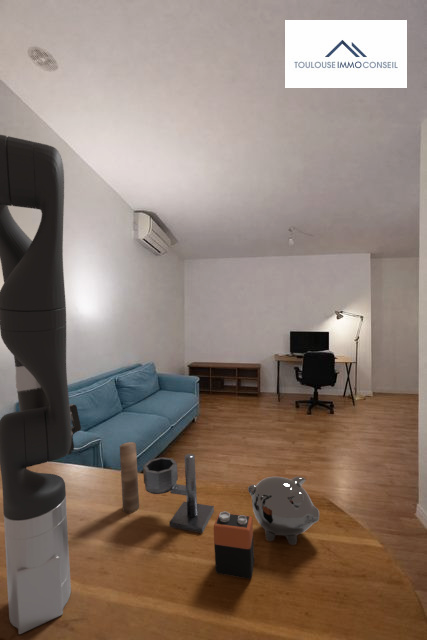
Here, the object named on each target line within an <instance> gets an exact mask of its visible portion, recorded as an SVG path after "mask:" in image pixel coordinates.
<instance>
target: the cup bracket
mask: <svg viewBox="0 0 427 640" xmlns="http://www.w3.org/2000/svg"><path fill="white" fill-rule="evenodd" d="M183 458H184V472H185V473H184V474H185V484H179V483H177V482H178V479H179V475H178V464H177V462H176V460H174V458H171V457H170V458H169V457H162V456H161V457H158V458H154V459H149V461H147V462H146V463H145V464H144V465H143V467H142V471H143V484H144V488H145V491H146V492H147V493H148V494H152V495H163V494H166V493H168V492H169V494H174V495H180V496H186V501H183V502H182V503H181V505H179V508H178V509H177V511H176V512H175V513H174V515H173V516H172V518H171V519H170V521H169V528H173V529H177V530H183V531H188V532H192V533H193V532H194V533H199V534H203V533H204V531H205V529H206V527H207V526H208V523H209V521H210V520H211V517H212V515H213V514H214V512H215V506H214V505H208V504H201V503H198V500H197V499H198V497H197V495H198V494H197V476H196V475H197V474H196V461H195V460H196V459H195V458H196V455H195V454H193V453H186V454H185V455H184V457H183Z"/></svg>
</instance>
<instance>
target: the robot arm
mask: <svg viewBox="0 0 427 640" xmlns="http://www.w3.org/2000/svg"><path fill="white" fill-rule="evenodd" d="M64 200H65V170H64V164H63V159H62V155H61V153H60V152H59V150H58V149H57V148H56V147H54V146H52V145H48V144H44V143H41V142H36V141H32V140H27V139H23V138H18V137H13V136H11V135H10V136H7V135H4V134H0V263H1V273H2V277H3V284H2V287H1V289H0V337H1V340H2V341H3V343H4V345H5V347H6V348H7V350H9V351H10V353H11V354H12V355H13V358H14V366H15V387H16V393H17V399H18V400H17V401H18V407H19V408H18V409H19V411H13V412H8V413H6V414H4V415H3V416H2V417H1V419H0V475H1V486H2V504H3V505H2V508H3V509H2V510H3V523H4V524H3V525H4V526H3V527H4V543H5V544H4V546H5V562H6V563H5V565H6V584H7V585H6V586H7V599H8V600H7V601H8V617H9V622H10V625H12V627H15V628H16V629H17V630H18V631H17V632H18V635H22V634H24V633H27V632H29V631H30V630H32V629H35V628H37V627H39V626H41V625H43V624H45V623H47V622H49V621H52V620H54V619H56V618H58V617H60V616H62V615H63V614H64V607H65V606H66V604H67V603H68V601H69V599H70V598H71V597H70V596H71V594H72V593H71V592H72V586H71V585H72V584H71V570H70V569H71V568H70V552H69V551H70V550H69V534H68V533H69V532H68V514H67V513H68V512H67V511H68V510H67V491H66V482H65V480H64V478H63V477H61V475H58V474H55V473H46V472H45V473H44V472H36V471H32V470H29V469H27V468H30V467H34V466H37V465H41V464H45V463H47V462H48V463H50V462H52V461H56V460H60V459H61V458H64V457H66V456H67V455H72V454H73V453H72V451H74V450H75V445H74V438H73V437H74V434H75V433H77V432H80V431H81V430H82V426H81V421H80V416H79V412H78V407H77V405H76V404H73V403H71V404H70V398H69V396H70V395H69V388H68V385H69V384H68V375H67V373H68V372H67V304H66V293H65V292H66V291H65V275H64V274H65V273H64V256H63V255H64V253H63V252H64V249H63V247H64V245H63V244H64V243H63V242H64V214H65V213H64V212H65V211H64V210H65V201H64ZM9 207H18V208H27V209H35V210H40V212H41V219H40V222H39V225H38V228H37V230H36V233H35V235H34V237H33V239H31V238H30V237H29V236H28V235H27V234H26V233H25V231H24V230H23V229H22V228H21V227H20V225H19V224H18V223H17V222H16V220H15V219H14V217H13V216H12V214H11V212H10V211H11V210H10V209H9Z"/></svg>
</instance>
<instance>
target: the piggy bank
mask: <svg viewBox="0 0 427 640" xmlns="http://www.w3.org/2000/svg"><path fill="white" fill-rule="evenodd" d="M305 482H306V478H305V477H303V476H294V477H293V478H291V479H290V478H288V477H282V476H268V477H265V478H263V479H262V480H260V481H259V482H257V484H250V485H249V486H247V487H248V488H247V491H248V493H249V495H250V496H251V504H252V505H251V506H252V511H253V513H254V517H255V519H256V521H257V523H258V524H259V525H260V527H262V528H263V530H264V531H265V539H266V541H268V542H273V541H274V540H275V539H276V536H283V537H285V538H286V540H287V543H288V544H289V545H291V546H295V545H296V544H297V542H298V535H301V534H303V533H304V532H306V531H307V530H308V529H309V528H311V527H312V526H313V525H314V524H316V523H317V522H319V520H320V511H319V509H318V508H317V507H316V506H315V505H314V503H313V502H312V499H311V498H310V495H309V494H308V493H307V491H306V489H305V488H303V486H302V485H303V484H304V483H305Z"/></svg>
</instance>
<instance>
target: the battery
mask: <svg viewBox="0 0 427 640" xmlns="http://www.w3.org/2000/svg"><path fill="white" fill-rule="evenodd" d="M253 524H254V523H253V517H252V516H251V515H245V514H244V515H243V514H239V513H238V514H236V513H230V512H228V511H221V512H218V514H217V516H216V518H215V521H214V524H213V542H214V545H213V546H214V563H215V564H214V565H215V573H216V574H219V575H225V576H229V577H230V576H231V577H236V578H242V579H247V580H251V579H252V577H253V572H254V567H255V550H254V549H255V547H254V546H255V545H254V527H253Z"/></svg>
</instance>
